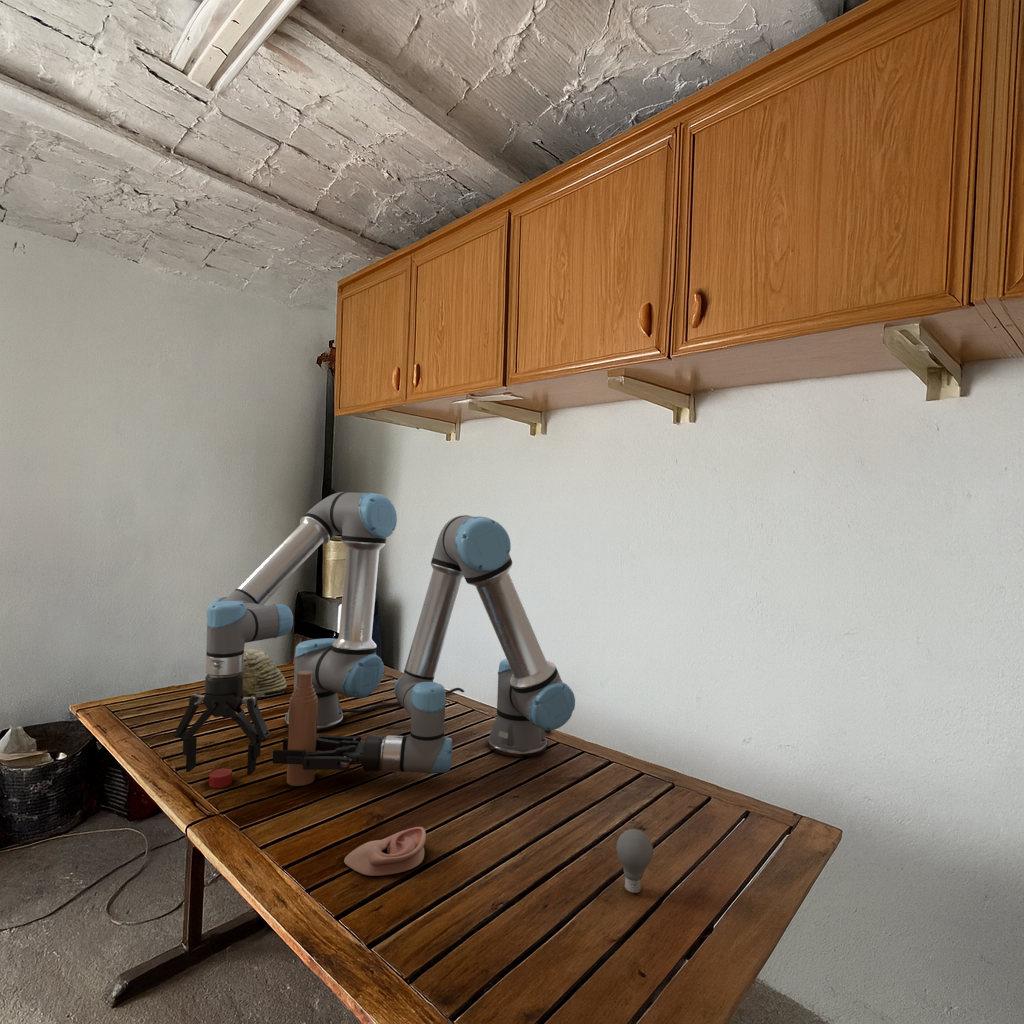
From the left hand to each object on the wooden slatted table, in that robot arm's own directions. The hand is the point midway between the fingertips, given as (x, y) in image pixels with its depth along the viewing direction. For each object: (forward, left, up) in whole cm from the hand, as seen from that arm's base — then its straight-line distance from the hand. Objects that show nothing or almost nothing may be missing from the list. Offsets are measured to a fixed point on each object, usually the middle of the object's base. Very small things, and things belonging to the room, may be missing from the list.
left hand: (221, 771), depth 138 cm
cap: (0, 0, -1) cm, 1 cm away
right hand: (-9, +7, +4) cm, 12 cm away
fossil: (-36, -51, -3) cm, 63 cm away
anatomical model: (-5, +48, -3) cm, 49 cm away
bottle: (-13, +11, -3) cm, 17 cm away
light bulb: (-27, +86, -3) cm, 90 cm away
